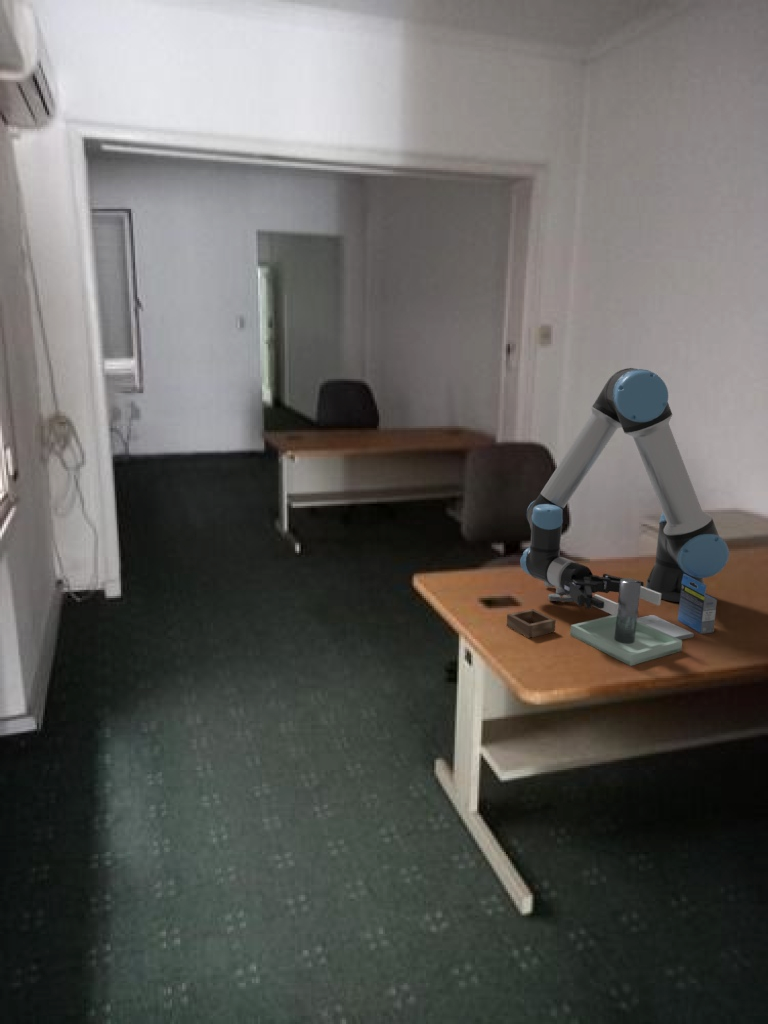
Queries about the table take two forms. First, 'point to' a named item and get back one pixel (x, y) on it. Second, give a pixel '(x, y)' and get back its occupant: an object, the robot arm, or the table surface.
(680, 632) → the external hard drive
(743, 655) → the table surface
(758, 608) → the table surface
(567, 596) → the pulley system
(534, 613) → the pin socket
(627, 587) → the pin
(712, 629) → the label tape box
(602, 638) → the tray
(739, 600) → the table surface
